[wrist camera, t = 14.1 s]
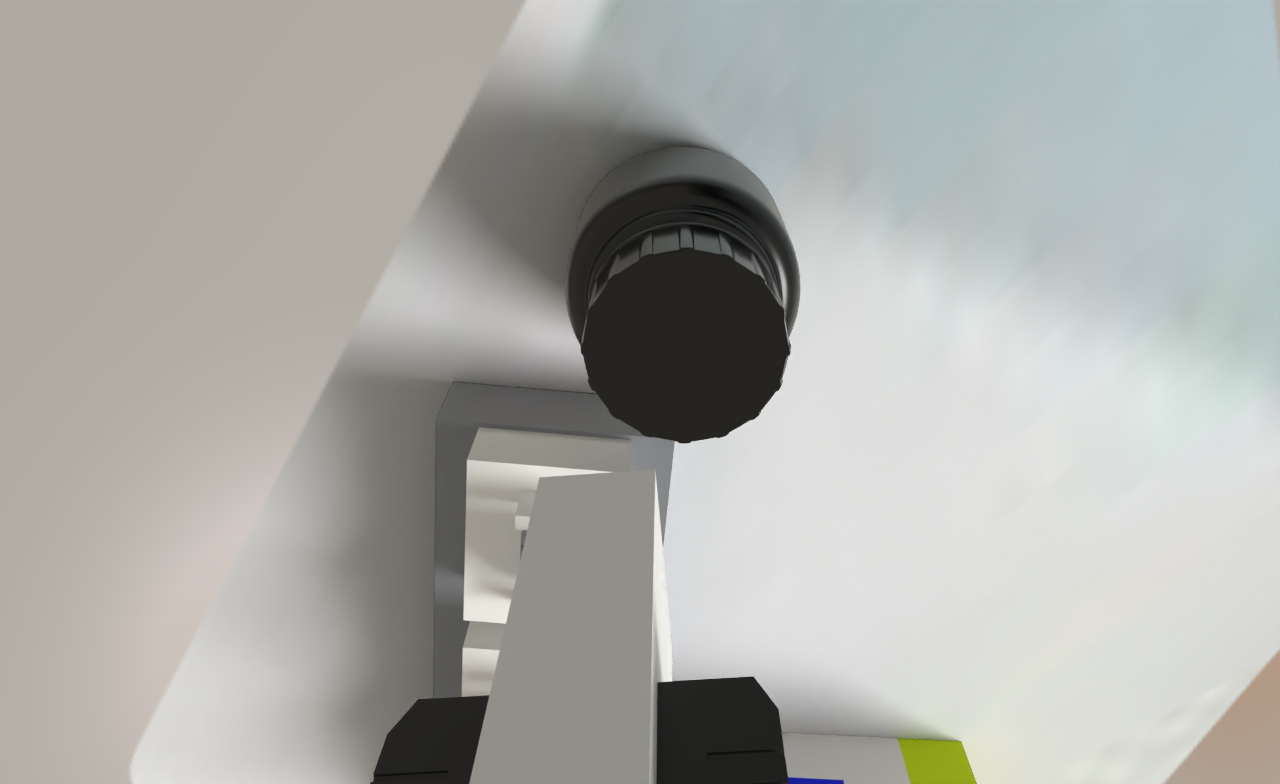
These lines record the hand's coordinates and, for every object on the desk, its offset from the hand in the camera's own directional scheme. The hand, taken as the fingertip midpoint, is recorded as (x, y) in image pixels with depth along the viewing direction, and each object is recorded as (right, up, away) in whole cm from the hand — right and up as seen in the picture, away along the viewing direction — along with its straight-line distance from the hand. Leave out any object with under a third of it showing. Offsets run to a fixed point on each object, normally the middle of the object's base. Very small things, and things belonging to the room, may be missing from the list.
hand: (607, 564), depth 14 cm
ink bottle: (+2, +8, +32) cm, 33 cm away
